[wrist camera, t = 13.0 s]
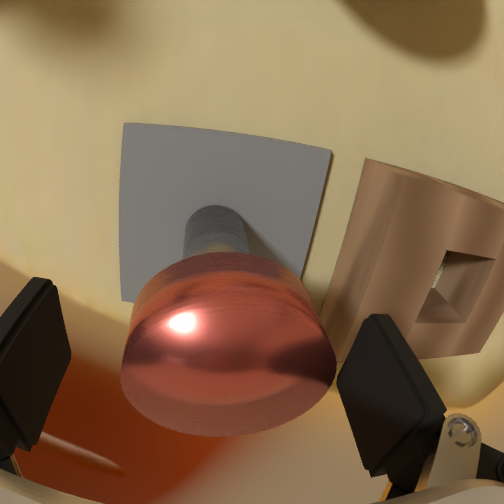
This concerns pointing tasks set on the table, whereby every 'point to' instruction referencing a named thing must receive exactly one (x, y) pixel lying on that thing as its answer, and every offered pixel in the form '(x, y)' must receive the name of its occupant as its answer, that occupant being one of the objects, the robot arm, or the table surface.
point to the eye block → (418, 264)
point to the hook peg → (224, 338)
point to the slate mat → (213, 194)
